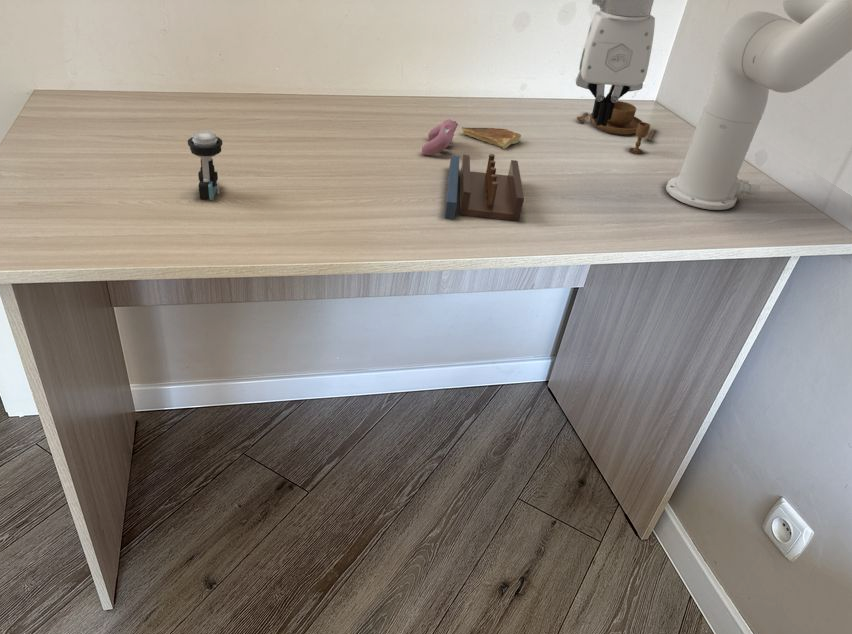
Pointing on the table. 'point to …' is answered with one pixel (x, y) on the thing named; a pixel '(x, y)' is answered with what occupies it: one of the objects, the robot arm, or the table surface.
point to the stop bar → (452, 187)
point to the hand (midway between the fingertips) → (600, 122)
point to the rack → (491, 191)
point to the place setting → (624, 124)
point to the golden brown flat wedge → (493, 136)
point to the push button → (206, 161)
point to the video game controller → (440, 137)
